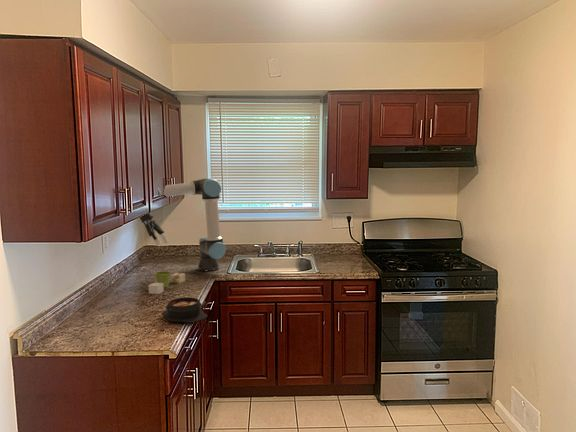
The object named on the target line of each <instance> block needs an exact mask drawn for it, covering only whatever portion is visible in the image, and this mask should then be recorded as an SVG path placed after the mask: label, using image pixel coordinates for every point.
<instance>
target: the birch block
mask: <svg viewBox="0 0 576 432" xmlns="http://www.w3.org/2000/svg"><path fill="white" fill-rule="evenodd" d="M183 281H184V282H185V281H186V273H179V272H175V273H173V274H171V283H172V282H175V283H174V284H182V283H184V282H183ZM181 282H182V283H181Z"/></svg>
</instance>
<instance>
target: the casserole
mask: <svg viewBox="0 0 576 432" xmlns="http://www.w3.org/2000/svg"><path fill="white" fill-rule="evenodd" d="M202 305H203V304H202V303H201V301H200V300H199V298H196V297H189V296H188V297H179V298H173V299H171V300H169V301H168V302H167V305H166V306H165V310H164V311H162V312H161V315H162V316H163V317H164V319H166V320H167V321H169V322H170V321H171V322H175V323H189V324H190V323H197V322H200V321H203V320H205V319H207V318H208V314H206V313H205V312H204V311H203V310H202V309H201V308H202Z"/></svg>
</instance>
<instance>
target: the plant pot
mask: <svg viewBox="0 0 576 432" xmlns="http://www.w3.org/2000/svg"><path fill="white" fill-rule="evenodd" d="M154 276H155V278H156V283H163V286H164V289H165V287H166V288H168V287H169V283H170V276H171V271H167V270H165V271H164V270H162V271H156V272H155V273H154Z"/></svg>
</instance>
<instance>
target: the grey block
mask: <svg viewBox="0 0 576 432" xmlns="http://www.w3.org/2000/svg"><path fill="white" fill-rule="evenodd" d="M164 290H165V288H164V286H163V283H157V282H153V283H150V284H148V294H151V295H159V294H161V293H163V292H164Z"/></svg>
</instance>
